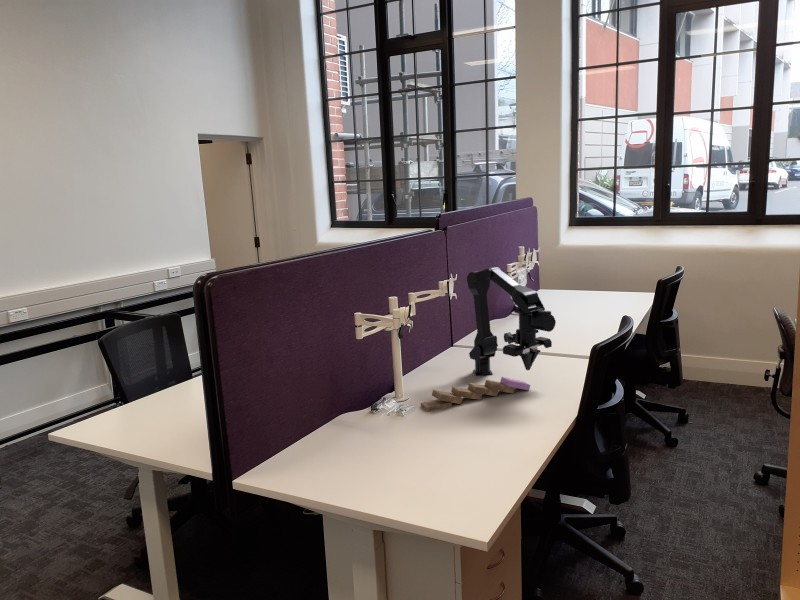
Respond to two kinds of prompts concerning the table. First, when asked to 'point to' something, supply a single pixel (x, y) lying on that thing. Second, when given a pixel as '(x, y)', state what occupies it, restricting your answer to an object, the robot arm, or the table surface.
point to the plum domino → (515, 383)
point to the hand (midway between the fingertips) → (527, 370)
